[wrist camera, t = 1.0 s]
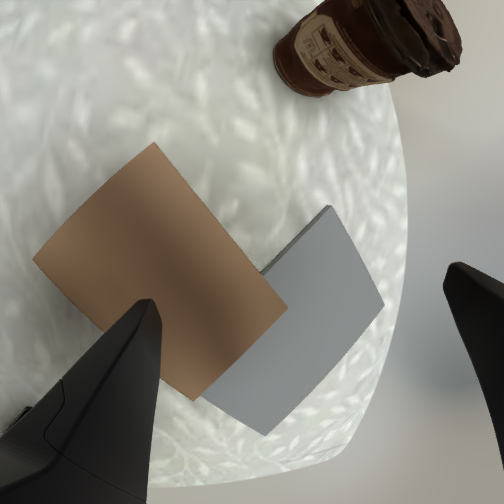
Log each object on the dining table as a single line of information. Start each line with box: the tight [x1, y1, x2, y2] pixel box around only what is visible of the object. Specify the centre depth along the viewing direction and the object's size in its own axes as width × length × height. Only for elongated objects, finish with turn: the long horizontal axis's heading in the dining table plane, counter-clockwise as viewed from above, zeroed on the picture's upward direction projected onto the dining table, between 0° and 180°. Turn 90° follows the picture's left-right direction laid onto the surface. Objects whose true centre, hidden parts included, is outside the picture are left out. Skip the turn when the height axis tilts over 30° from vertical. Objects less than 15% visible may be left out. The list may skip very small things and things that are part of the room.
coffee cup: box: [274, 0, 462, 97], centre depth 15 cm, size 9×8×13 cm
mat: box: [200, 205, 385, 436], centre depth 25 cm, size 18×13×1 cm
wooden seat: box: [32, 142, 288, 401], centre depth 15 cm, size 7×10×7 cm
